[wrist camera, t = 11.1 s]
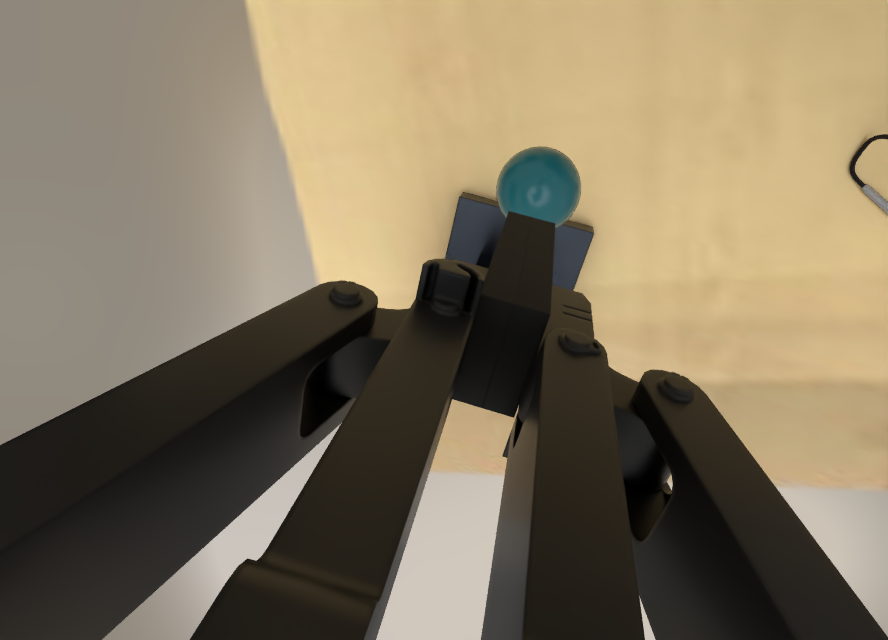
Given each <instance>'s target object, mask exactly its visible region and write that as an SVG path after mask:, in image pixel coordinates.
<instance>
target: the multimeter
mask: <svg viewBox="0 0 888 640" xmlns="http://www.w3.org/2000/svg"><path fill="white" fill-rule="evenodd" d="M877 139H888V135H886V134H884V135H877V136H874V137H872V138H870V139H868V140H867V141H866V142H865V143H864V144H863V145H862V147H861V148H860V149H859V150H858V152H857V153H856V155H855V156H854V158H853V159H852V161H851V164H850V174H851V176H852V178H853V179H854V180H855V182H856V183H857V184H858V185H859V186H860V187H861V189H862V190H863V192H864V193H865V194H866V195H867V196H868V197H869V198H870V199H871V200H873V201H874V202H875V203H876V204H877V205H878V206H879V207H880V208H881V209H882V210H883V211H885V212H886V214H887V216H888V202H887V201H886V200H885V199H884V198H883V197H882V196H880V195H879V194H878V193H877V192H876V191H875V190H874V189H873V188H871V187H870V186H868V185H867V184H864V183H863V182H862V181H861V180H860V179H859V178H858V177H857V175H856V173H855V164H856V162H857V160H858V158H859V156H860V155H861V154H862V152H863V151H864V150H865V149H866V147H867V146H868V145H869V144H870V143H871V142H873V141H875V140H877Z"/></svg>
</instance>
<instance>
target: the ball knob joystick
mask: <svg viewBox="0 0 888 640" xmlns="http://www.w3.org/2000/svg"><path fill="white" fill-rule="evenodd" d="M580 194H581V181H580V176H579V173H578V171H577V169H576V167H575V165H574V164H573V162H572V161H571V160H570V159H569V158H568V157H567V156H566V155H565V154H563V153H562V152H560V151H558V150H556V149H553V148H549V147H532V148H528V149H525V150H523V151H521V152H519V153H517V154H516V155H514V156H513V157H512V158H511V159H510V160H509V161H508V162H507V163H506V164H505V166H504V167H503V169H502V171H501V173H500V175H499V178H498V182H497V191H496V195H497V201H498V204H499V207H500V209H501V211H502V213H503V215H504V216H505V217H506V218H507V215H508V212H509V211H511V212H515V213H519V214H522V215H526V216H530V217H533V218H537V219H541V220H545V221H548V222H552V223H556V224H555V228H557V227H558V226H560V225H562V224H563V223H564V222H566V221H567V220H568V219H569V217H570V216H571V215H572V214H573V212H574V211H575V209H576V207H577V205H578V202H579V199H580Z"/></svg>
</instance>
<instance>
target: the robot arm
mask: <svg viewBox="0 0 888 640" xmlns="http://www.w3.org/2000/svg"><path fill="white" fill-rule="evenodd" d="M555 224H556V223H552V222H548V221H545V220H541V219H537V218H533V217H530V216H526V215H522V214H519V213H515V212H511V211H509V212H508V215H507V218H506V220H505V223H504V226H503V229H502V232H501V235H500V238H499V240H498V243H497V246H496V249H495V252H494V255H493V257H492V260H491V263H490V266H489V269H488V268H484V267H481V266H477V265H474V264H470V263H466V262H463V261H459V260H456V259H454V260H449V259H433V260H428V261H427V262H425V263H424V264H423V267H422V272H421V276H420V281H419V286H418V290H417V295H416V299H415V301H414V303H413V304H412V306H411V308H409V309H401V310H396V309H384V308H377V305H378V298H377V296H376V295H375V294H374V292H373V291H371V290H370V289H368V288H366V287H364V286H362V285H358V284H356V283H355V282H350V281H348V282H347V281H335V282H327V283H324V284H320V285H318V286H316V287H314V288H312V289H310V290H308V291H306V292H304V293H302V294H300V295H298V296H296V297H294V298H292V299H290V300H288V301H286V302H285V303H282V304H281V305H279V306H276V307H274V308H272V309H270V310H269V311H266V312H265V313H262V314H260V315H259V316H256V317H255V318H252V319H251V320H248V321H247V322H244V323H243V324H241V325H239V326H237V327H235V328H233V329H231V330H229V331H227V332H225V333H223V334H221V335H219V336H217V337H215V338H213V339H211V340H209V341H207V342H205V343H203V344H201V345H199V346H197V347H195V348H193V349H191V350H189V351H187V352H185V353H183V354H181V355H179V356H177V357H175V358H173V359H171V360H169V361H167V362H165V363H163V364H161V365H159V366H157V367H155V368H153V369H151V370H149V371H147V372H145V373H143V374H141V375H139V376H137V377H135V378H133V379H131V380H129V381H127V382H125V383H123V384H121V385H119V386H117V387H115V388H113V389H111V390H109V391H107V392H105V393H103V394H101V395H99V396H97V397H95V398H93V399H91V400H89V401H87V402H85V403H83V404H81V405H79V406H77V407H75V408H73V409H71V410H70V411H67V412H66V413H63V414H61V415H60V416H58V417H55V418H54V419H51V420H49V421H48V422H46V423H43V424H42V425H40V426H38V427H36V428H34V429H32V430H30V431H28V432H26V433H24V434H22V435H20V436H18V437H16V438H14V439H12V440H10V441H8V442H6V443H4V444H2V445H0V640H102V639H103V638H104V637H105V636H106V635H107V634H108V633H110V632H111V631H112V630H113V629H114V628H115V627H116V626H117V625H118V624H119V623H121V622H122V621H123V620H124V619H125V618H126V617H127V616H128V615H129V614H130V613H132V612H133V611H134V610H135V609H136V608H137V607H138V606H139V605H141V604H142V603H143V602H144V601H145V600H146V599H147V598H148V597H149V596H150V595H152V594H153V593H154V592H155V591H156V590H157V589H158V588H159V587H160V586H162V585H163V584H164V583H165V582H166V581H167V580H168V579H169V578H170V577H171V576H173V575H174V574H175V573H176V572H177V571H178V570H179V569H180V568H181V567H182V566H184V565H185V564H186V563H187V562H188V561H189V560H190V559H191V558H192V557H194V556H195V555H196V554H197V553H198V552H199V551H200V550H201V549H202V548H204V547H205V546H206V545H207V544H208V543H209V542H210V541H211V540H212V539H213V538H215V537H216V536H217V535H218V534H219V533H220V532H221V531H222V530H223V529H225V527H227V526H228V525H229V524H230V523H231V522H232V521H233V520H234V519H235V518H237V517H238V516H239V515H240V514H241V513H242V512H243V511H244V510H245V509H247V508H248V507H249V506H250V505H251V504H252V503H253V502H254V501H255V500H257V499H258V498H259V497H260V496H261V495H262V494H263V493H264V492H265V491H266V490H267V489H269V488H270V487H271V486H272V485H273V484H274V483H275V482H276V481H277V480H278V479H280V478H281V477H282V476H283V475H284V474H285V473H286V472H287V471H289V470H290V469H291V468H292V467H293V466H294V465H295V464H296V463H297V462H299V461H300V460H301V459H302V458H303V457H304V456H305V455H306V454H307V453H308V452H310V451H311V450H312V449H313V448H314V447H315V446H316V445H317V444H319V443H320V442H321V441H322V440H323V439H324V438H325V437H326V436H327V435H328V434H330V433H331V432H332V431H333V430H334V429H335V428H336V427H337V426H338V425H339V424H341V423H342V424H341V425H340V427H339V429H338V430H337V432H336V434H335V435H334V437H333V439H332V440H331V442H330V444H329V445H328V447H327V449H326V450H325V452H324V454H323V455H322V457H321V459H320V460H319V462H318V464H317V466H316V467H315V469H314V471H313V472H312V474H311V476H310V477H309V479H308V481H307V483H306V484H305V486H304V488H303V489H302V491H301V492H300V494H299V496H298V498H297V499H296V501H295V502H294V504H293V506H292V508H291V509H290V511H289V513H288V515H287V516H286V518H285V519H284V521H283V523H282V524H281V526H280V528H279V529H278V531H277V533H276V535H275V536H274V538H273V540H272V541H271V543H270V544H269V546H268V548H267V549H266V551H265V552H264V554H263V555H262V556H261V557H260V558H259V559H258V560H257V561H255V560H251V559H246V560H245V561H244V562H243V563H242V564H240V565H239V566H238V567H237V568H236V570H235V571H234V572H233V574H232V575H231V577H230V578H229V579H228V581H227V582H226V583H225V585H224V587H223V588H222V590H221V591H220V593H219V594H218V596H217V598H216V599H215V601H214V602H213V604H212V606H211V607H210V609H209V610H208V612H207V613H206V615H205V617H204V618H203V620H202V621H201V623H200V624H199V626H198V628H197V629H196V631H195V632H194V634H193V636H192V637H191V639H190V640H376V638H377V634H378V631H379V628H380V625H381V622H382V619H383V616H384V613H385V609H386V606H387V603H388V600H389V597H390V594H391V590H392V587H393V584H394V581H395V578H396V575H397V572H398V568H399V565H400V562H401V559H402V556H403V553H404V550H405V547H406V543H407V540H408V537H409V534H410V531H411V528H412V524H413V521H414V518H415V515H416V512H417V509H418V506H419V502H420V499H421V496H422V493H423V490H424V487H425V484H426V481H427V478H428V474H429V471H430V468H431V465H432V462H433V459H434V456H435V452H436V449H437V446H438V443H439V440H440V437H441V434H442V430H443V427H444V424H445V421H446V418H447V415H448V412H449V408H450V404H451V401H452V399H454V400H457V401H461V402H464V403H467V404H471V405H474V406H477V407H481V408H484V409H487V410H491V411H494V412H497V413H500V414H504V415H507V416H510V417H514V416H515V414H516V411H517V408H518V405H519V409H518V413H517V416H516V419H515V422H514V425H513V427H512V430H511V433H510V436H509V439H508V442H507V444H506V447H505V450H504V453H503V457H506V458H507V457H508V458H507V465H506V471H505V478H504V485H503V492H502V499H501V506H500V513H499V520H498V526H497V533H496V540H495V547H494V554H493V561H492V568H491V574H490V581H489V588H488V595H487V602H486V609H485V616H484V622H483V629H482V636H481V640H645V637H644V629H643V622H642V614H641V607H640V599H639V596H640V598H641V601H642V604H643V607H644V609H645V612H646V615H647V617H648V620H649V622H650V626H651V628H652V631H653V633H654V636H655V639H656V640H888V637H887V635H886V634H885V633H884V632H883V630H882V629H881V628H880V626H879V625H878V624H877V622H876V621H875V619H874V618H873V617H872V615H871V614H870V613H869V611H868V610H867V609H866V607H865V606H864V605H863V603H862V602H861V601H860V599H859V598H858V597H857V595H856V594H855V593H854V591H853V590H852V589H851V587H850V586H849V585H848V583H847V582H846V581H845V579H844V578H843V577H842V575H841V574H840V573H839V571H838V570H837V569H836V567H835V566H834V565H833V563H832V562H831V561H830V559H829V558H828V557H827V555H826V554H825V553H824V551H823V550H822V549H821V547H820V546H819V545H818V543H817V542H816V541H815V539H814V538H813V537H812V535H811V534H810V533H809V531H808V530H807V528H806V527H805V526H804V524H803V523H802V522H801V520H800V519H799V518H798V516H797V515H796V514H795V512H794V511H793V510H792V508H791V507H790V506H789V504H788V503H787V502H786V501H785V499H784V498H783V496H781V494H780V492H779V491H778V490H777V488H776V487H775V486H774V484H773V483H772V482H771V480H770V479H769V478H768V476H767V475H766V474H765V472H764V471H763V470H762V468H761V467H760V466H759V464H758V463H757V462H756V460H755V459H754V458H753V456H752V455H751V454H750V452H749V451H748V450H747V448H746V447H745V446H744V444H743V443H742V442H741V440H740V439H739V438H738V436H737V435H736V434H735V432H734V431H733V430H732V428H731V427H730V426H729V424H728V423H727V422H726V420H725V419H724V418H723V416H722V415H721V413H720V412H719V411H718V409H717V408H716V407H715V405H714V404H713V403H712V401H711V400H710V399H709V397H708V396H707V395H706V394H705V393H704V392H703V391H702V390H701V389H700V388H699V387H698V386H697V385H695V384H694V383H692V382H691V381H690V380H689V379H688V378H686V377H684V376H680V375H679V374H677V373H674V372H667V371H663V370H650V371H647V372H644V374H643V376H642V378H641V380H640V382H637V381H634V380H632V379H630V378H628V377H626V376H624V375H622V374H620V373H618V372H616V371H614V370H613V369H612V368H610V367H609V366H608V359H607V353H606V351H605V348H604V347H603V346H602V345H601V344H600V343H599V342H598V341H597V340H596V339H594V331H593V322H592V315H591V313H592V311H591V303H590V302H589V301H588V300H587V299H586V297H585V296H584V295H583V294H582V293H579V292H575V291H572V290H568V289H565V288H561V287H557V286H554V285H552V279H553V261H554V242H555ZM670 475H672V481H673V487H672V490H671V489H670V487H669V485H668V483H667V480H668V478H669V477H670Z"/></svg>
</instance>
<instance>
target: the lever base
mask: <svg viewBox="0 0 888 640" xmlns="http://www.w3.org/2000/svg"><path fill="white" fill-rule="evenodd" d="M505 220H506V217H505V216H504V215H503V213H502V211H501V209H500V207H499V204H498V201H495V200H491V199H487V198H484V197H480V196H476V195H473V194H469V193H465V192H463V193H462V194H461V196H460V197H459V201H458V205H457V210H456V214H455V218H454V222H453V227H452V231H451V235H450V240H449V244H448V248H447V253H446V257H445V259H449V260H454V259H456V260H459V261H463V262H466V263H470V264H474V265H477V266H481V267H484V268H488V269H489V266H490V263H491V260H492V257H493V255H494V252H495V249H496V246H497V243H498V240H499V238H500V235H501V232H502V229H503V226H504V223H505ZM593 235H594V230H593V227H591V226H587V225H583V224H580V223H576V222H572V221H569V220H567V221H566V222H564V223H563V224H562V225H560V226H558V227H557V228H555V242H554V261H553V279H552V285H554V286H557V287H561V288H565V289H568V290H572V291H573V289H574V287H575V284H576V281H577V278H578V276H579V273H580V270H581V268H582V265H583V262H584V259H585V257H586V254H587V251H588V249H589V246H590V243H591V240H592V238H593Z"/></svg>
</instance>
